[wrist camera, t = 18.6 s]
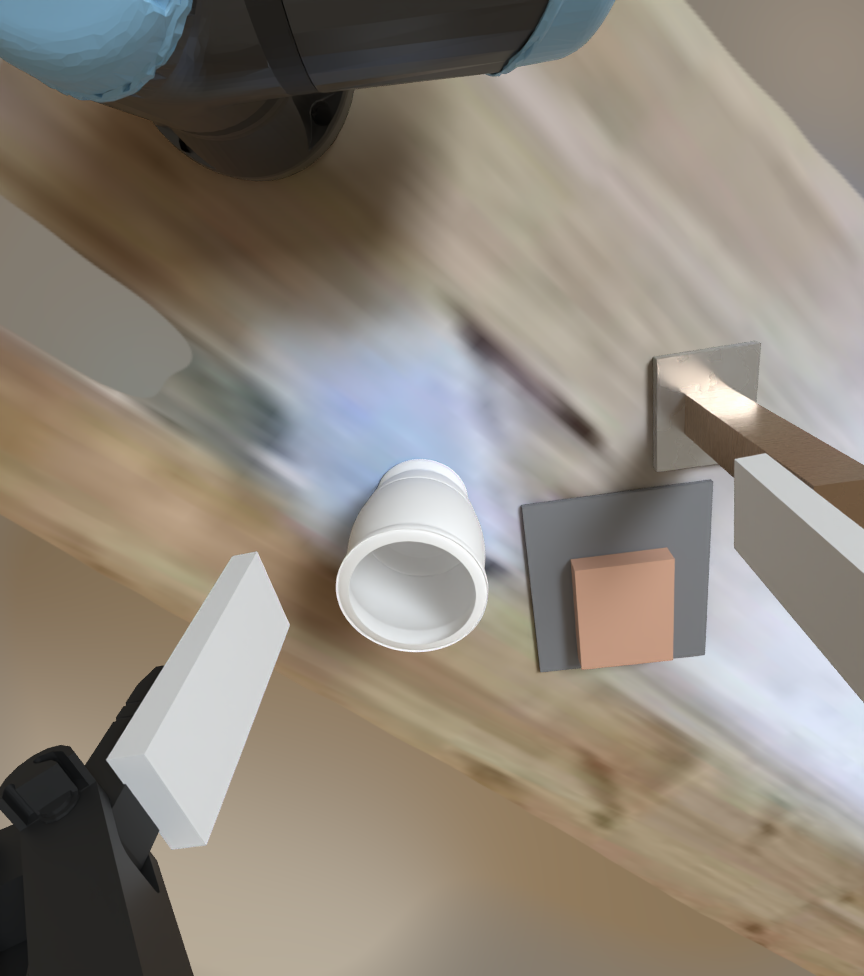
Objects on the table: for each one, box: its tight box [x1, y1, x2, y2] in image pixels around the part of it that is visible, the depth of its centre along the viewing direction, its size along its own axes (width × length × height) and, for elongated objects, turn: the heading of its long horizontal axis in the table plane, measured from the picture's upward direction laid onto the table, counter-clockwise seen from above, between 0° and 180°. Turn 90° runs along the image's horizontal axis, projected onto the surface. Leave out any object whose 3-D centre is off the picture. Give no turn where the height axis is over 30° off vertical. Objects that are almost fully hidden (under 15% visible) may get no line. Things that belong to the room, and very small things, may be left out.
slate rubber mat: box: [521, 480, 713, 672], centre depth 55 cm, size 20×17×1 cm
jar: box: [336, 459, 488, 652], centre depth 45 cm, size 11×10×15 cm
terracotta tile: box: [570, 547, 675, 670], centre depth 55 cm, size 2×9×12 cm
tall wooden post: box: [653, 341, 864, 529], centre depth 39 cm, size 10×8×19 cm
